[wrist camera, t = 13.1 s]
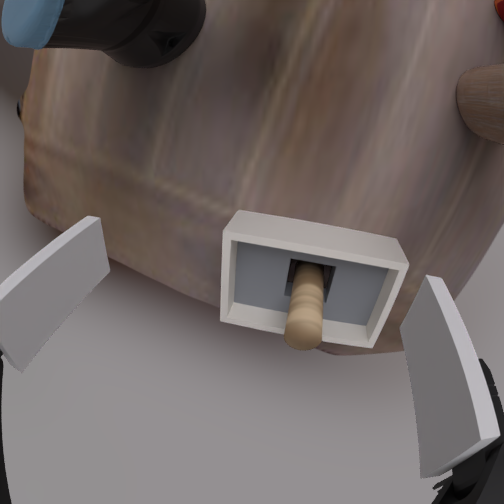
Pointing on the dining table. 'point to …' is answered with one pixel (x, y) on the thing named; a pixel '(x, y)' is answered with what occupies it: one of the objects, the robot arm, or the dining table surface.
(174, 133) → the dining table surface
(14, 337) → the robot arm
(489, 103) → the planter
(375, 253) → the box
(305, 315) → the dowel
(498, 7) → the coffee cup
